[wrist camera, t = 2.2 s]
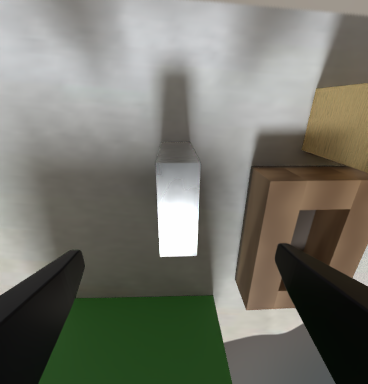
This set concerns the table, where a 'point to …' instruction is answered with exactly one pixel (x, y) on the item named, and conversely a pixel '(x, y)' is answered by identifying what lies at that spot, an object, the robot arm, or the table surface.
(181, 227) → the block
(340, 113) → the square bit
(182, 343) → the hardback book
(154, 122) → the table surface
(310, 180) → the socket block
